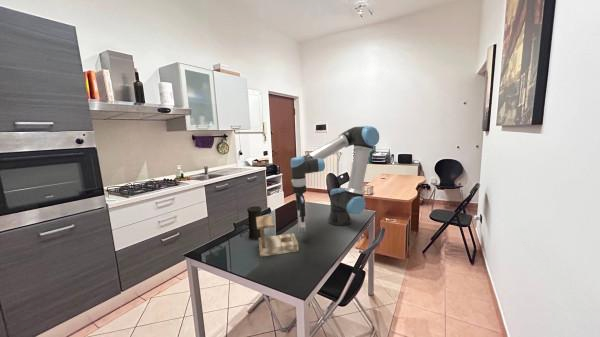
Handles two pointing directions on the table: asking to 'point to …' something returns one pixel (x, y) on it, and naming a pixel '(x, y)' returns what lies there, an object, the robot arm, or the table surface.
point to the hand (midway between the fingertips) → (301, 225)
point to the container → (254, 222)
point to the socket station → (274, 239)
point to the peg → (299, 223)
